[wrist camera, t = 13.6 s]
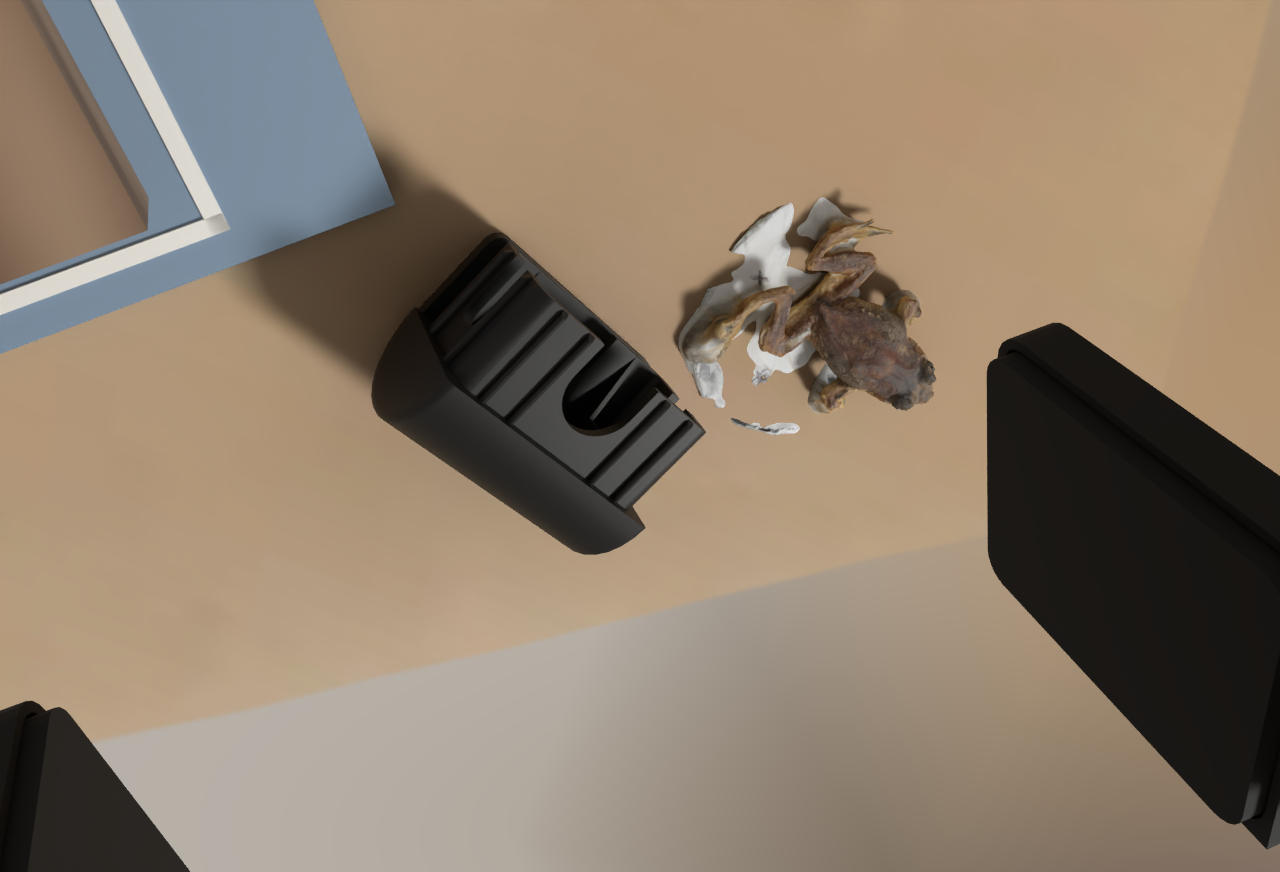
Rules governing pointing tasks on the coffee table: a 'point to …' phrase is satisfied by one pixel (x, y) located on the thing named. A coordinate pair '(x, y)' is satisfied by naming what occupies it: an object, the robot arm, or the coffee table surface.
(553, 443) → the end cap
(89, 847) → the robot arm
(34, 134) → the plinth
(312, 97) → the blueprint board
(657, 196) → the coffee table surface
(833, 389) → the frog figurine
